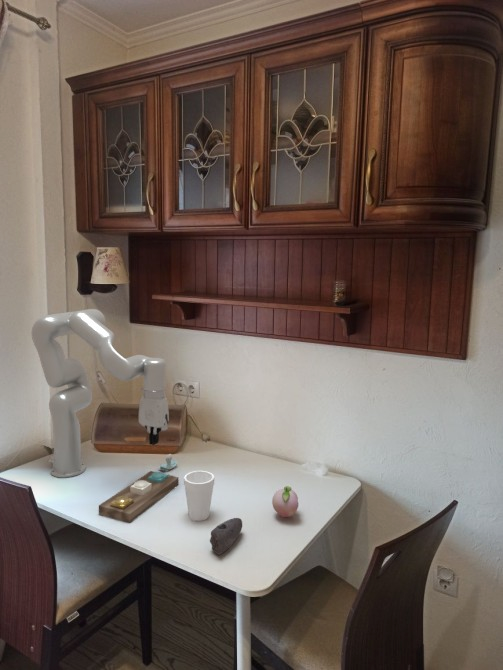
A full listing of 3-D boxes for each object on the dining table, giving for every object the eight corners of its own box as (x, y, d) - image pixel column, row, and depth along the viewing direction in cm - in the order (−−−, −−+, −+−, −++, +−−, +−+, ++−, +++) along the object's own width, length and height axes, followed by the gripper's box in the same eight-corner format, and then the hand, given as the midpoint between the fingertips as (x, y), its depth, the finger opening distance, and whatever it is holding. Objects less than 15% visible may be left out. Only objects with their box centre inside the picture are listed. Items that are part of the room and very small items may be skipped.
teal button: (148, 485, 169) (148, 475, 169) (156, 479, 174) (156, 470, 173) (160, 488, 167) (159, 478, 167) (168, 482, 172) (167, 472, 171)
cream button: (130, 494, 160) (130, 484, 160) (139, 488, 165) (139, 478, 164) (142, 498, 158) (142, 487, 158) (151, 491, 163) (151, 481, 162)
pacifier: (154, 470, 184) (166, 473, 181) (154, 454, 184) (165, 458, 180) (167, 463, 191) (179, 467, 187) (167, 448, 190) (178, 451, 187)
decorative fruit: (271, 508, 157) (272, 480, 155) (296, 509, 157) (297, 481, 155) (272, 524, 148) (272, 494, 146) (298, 525, 147) (299, 495, 146)
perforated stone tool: (234, 529, 145) (234, 508, 144) (249, 535, 142) (249, 513, 141) (204, 554, 132) (204, 531, 131) (219, 561, 129) (219, 537, 128)
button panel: (98, 514, 151) (98, 505, 151) (150, 478, 177) (150, 471, 176) (129, 523, 147) (129, 514, 146) (178, 485, 172) (178, 477, 172)
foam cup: (201, 526, 145) (201, 486, 143) (178, 517, 150) (177, 479, 148) (219, 513, 153) (219, 475, 151) (196, 505, 158) (197, 468, 156)
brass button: (110, 511, 151) (110, 501, 151) (120, 504, 156) (120, 494, 155) (123, 515, 149) (123, 504, 149) (133, 507, 154) (133, 497, 153)
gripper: (130, 392, 166) (130, 443, 169) (166, 399, 160) (165, 451, 163) (143, 387, 173) (142, 436, 175) (178, 394, 167) (177, 444, 170)
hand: (153, 443), depth 169 cm, fingers closed
